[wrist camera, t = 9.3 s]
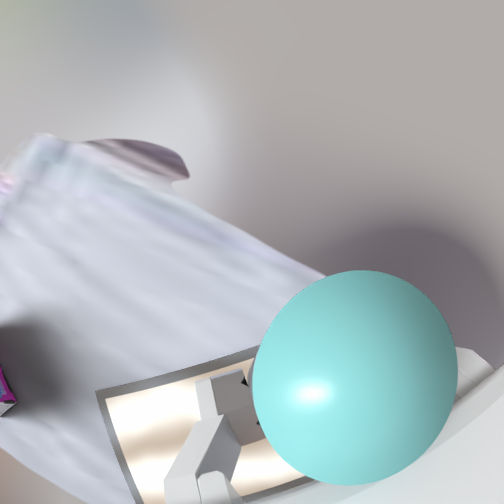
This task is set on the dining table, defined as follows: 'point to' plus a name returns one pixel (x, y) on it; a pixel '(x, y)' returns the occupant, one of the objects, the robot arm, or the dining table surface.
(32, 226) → the dining table surface
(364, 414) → the ball
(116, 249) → the dining table surface
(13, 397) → the candy bar box
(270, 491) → the framed mirror
